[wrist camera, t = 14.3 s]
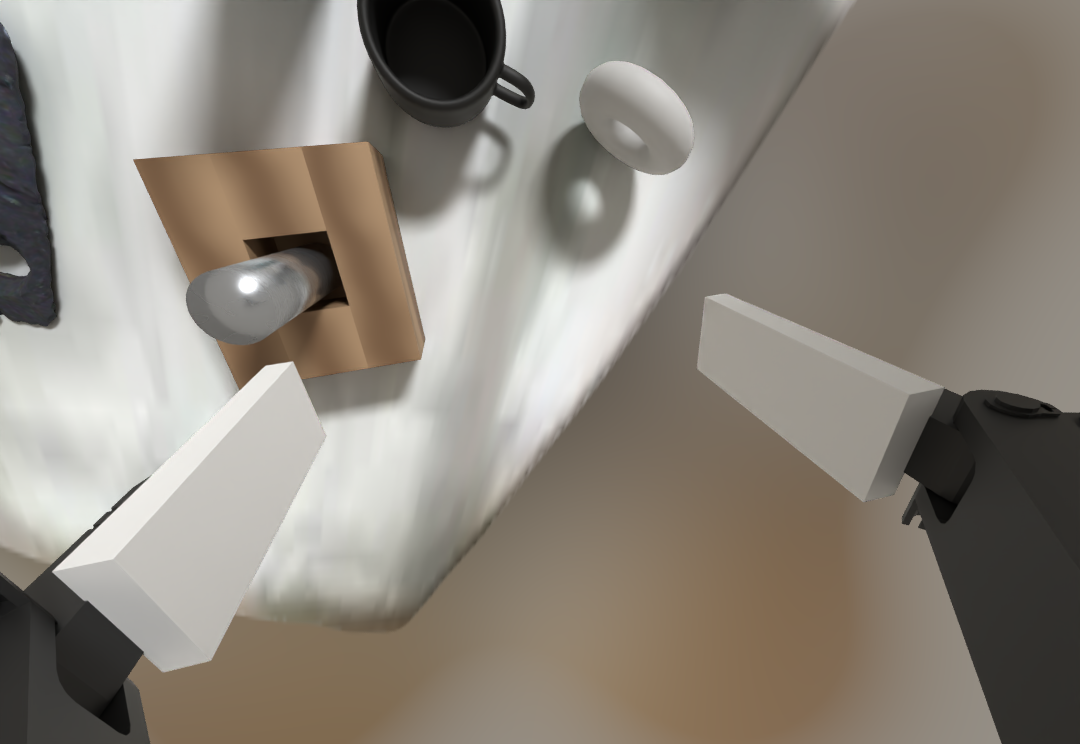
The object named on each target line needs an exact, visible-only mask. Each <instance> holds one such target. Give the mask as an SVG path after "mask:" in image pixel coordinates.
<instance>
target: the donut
mask: <svg viewBox="0 0 1080 744" xmlns="http://www.w3.org/2000/svg"><path fill="white" fill-rule="evenodd" d="M579 101H580V108H581V114H582V117H583V119H584V121H585V123H586V125H587V127H588V129H589V131H590V132H591V133H592V135H593V136H594V137H595V139H596V140H597V141H598V142H599V143H600V144H601V145H602V146H603V147H604V148H605V149H606V150H607V151H608V152H609V153H611V154H612V155H613V156H614V157H615V158H617V159H618V160H620V161H621V162H623V163H624V164H626V165H627V166H630V167H632V168H634V169H636V170H638V171H641V172H644V173H647V174H652V175H664V174H668V173H670V172H673V171H675V170H676V169H678V168H680V167H681V166H682V165H683V164H684V163H685V162H686V160H687V158H688V156H689V154H690V152H691V150H692V148H693V145H694V129H693V122H692V119H691V117H690V114H689V112H688V110H687V108H686V106H685V105H684V103H683V102H682V101H681V99H680V98H679V97H678V95H677V94H676V93H675V91H674V90H673V89H671V88H670V87H669V86H668V85H667V84H666V83H665V82H664V81H663V80H662V79H661V78H659V77H658V76H656V75H654V74H653V73H651V72H650V71H648V70H646V69H645V68H643V67H641V66H638V65H635V64H632V63H630V62H626V61H609V62H606V63H604V64H602V65H600V66H598V67H596V68H594V69H593V70H592V71H591V72H590V73H589V74H588V75H587V77H586V79H585V82H584V84H583V86H582V89H581V91H580V97H579Z"/></svg>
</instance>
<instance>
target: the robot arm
mask: <svg viewBox="0 0 1080 744" xmlns="http://www.w3.org/2000/svg"><path fill="white" fill-rule="evenodd" d="M697 369H698V370H699V371H700V372H701V373H703V374H704V375H705V376H706V377H708V378H709V379H710V380H711V381H713V382H714V383H715V384H717V385H718V386H719V387H720V388H721V389H723V390H724V391H725V392H727V393H728V394H729V395H730V396H731V397H733V398H734V399H735V400H736V401H738V402H739V403H740V404H741V405H743V406H744V407H745V408H747V409H748V410H749V411H750V412H751V413H753V414H754V415H755V416H756V417H758V418H759V419H760V420H761V421H763V422H764V423H765V424H767V425H768V426H769V427H770V428H772V429H773V430H774V431H775V432H777V433H778V434H779V435H780V436H781V437H783V438H784V439H785V440H787V441H788V442H789V443H790V444H791V445H793V446H794V447H795V448H796V449H798V450H799V451H800V452H802V453H803V454H804V455H805V456H806V457H808V458H809V459H810V460H811V461H813V462H814V463H815V464H816V465H818V466H819V467H820V468H822V469H823V470H824V471H825V472H826V473H828V474H829V475H830V476H831V477H833V478H834V479H835V480H837V481H838V482H839V483H840V484H842V485H843V486H844V487H845V488H847V489H848V490H849V491H850V492H852V493H853V494H854V495H855V496H856V497H858V498H859V499H860V500H861V501H863V502H867V501H871V500H875V499H879V498H884V497H888V496H891V495H894V494H895V492H896V490H897V488H898V485H899V484H900V481H901V479H902V477H903V475H904V473H906V474H907V475H909V476H910V477H912V478H914V479H915V480H916V481H918V482H919V485H918V486H917V488H916V491H915V492H914V495H913V496H912V498H911V500H910V502H909V504H908V506H907V508H906V510H905V512H904V514H903V516H902V524H906V525H909V524H910V522H911V520H912V518H913V517H914V516H916V515H921V518H922V521H921V523H920V524H919V526H918V528H921V529H924V530H926V532H927V535H928V538H929V540H930V543H931V546H932V549H933V552H934V554H935V557H936V560H937V563H938V566H939V568H940V571H941V574H942V577H943V580H944V582H945V585H946V588H947V591H948V594H949V596H950V599H951V602H952V605H953V608H954V610H955V614H956V616H957V619H958V622H959V625H960V627H961V630H962V633H963V636H964V639H965V642H966V645H967V647H968V650H969V653H970V656H971V659H972V661H973V664H974V667H975V670H976V672H977V675H978V678H979V681H980V684H981V687H982V690H983V692H984V695H985V698H986V701H987V704H988V706H989V709H990V712H991V715H992V718H993V721H994V723H995V726H996V729H997V732H998V735H999V737H1000V740H1001V743H1002V744H1080V413H1063V412H1061V411H1060V410H1058V409H1057V408H1055V407H1054V406H1052V405H1050V404H1048V403H1043V402H1041V401H1039V400H1036V399H1032V398H1029V397H1025V396H1022V395H1019V394H1013V393H1008V392H1003V391H993V390H976V391H970V392H968V393H967V394H965V395H963V396H961V395H958V394H956V393H954V392H951V391H949V390H947V389H944V388H945V387H943V386H941V385H938V384H936V383H934V382H931V381H929V380H927V379H924V378H922V377H920V376H917V375H915V374H912V373H910V372H908V371H905V370H903V369H901V368H898V367H896V366H894V365H892V364H889V363H887V362H885V361H882V360H880V359H878V358H875V357H873V356H871V355H868V354H865V353H864V352H861V351H859V350H856V349H854V348H852V347H850V346H847V345H845V344H843V343H840V342H838V341H836V340H833V339H831V338H829V337H826V336H824V335H822V334H819V333H817V332H815V331H812V330H810V329H808V328H805V327H803V326H800V325H798V324H796V323H794V322H791V321H789V320H787V319H785V318H782V317H780V316H778V315H775V314H773V313H770V312H768V311H766V310H764V309H761V308H759V307H757V306H754V305H752V304H749V303H747V302H745V301H743V300H740V299H738V298H735V297H733V296H731V295H729V294H726V293H725V294H717V295H712V296H706V297H705V299H704V308H703V317H702V325H701V334H700V343H699V352H698V361H697ZM325 438H326V434H325V432H324V429H323V427H322V425H321V423H320V420H319V418H318V416H317V414H316V411H315V409H314V407H313V405H312V403H311V400H310V398H309V396H308V394H307V391H306V389H305V387H304V385H303V382H302V380H301V378H300V376H299V374H298V371H297V369H296V367H295V365H294V362H286V363H280V364H274V365H267V366H265V367H264V368H263V369H262V370H260V371H259V372H258V373H257V374H256V375H255V376H254V377H253V378H252V379H251V380H250V381H249V382H248V383H247V384H246V385H245V386H244V387H243V388H242V389H241V390H240V391H239V392H238V393H237V394H236V395H235V396H234V397H233V398H231V399H230V400H229V401H228V402H227V403H226V404H225V405H224V406H223V407H222V408H221V409H220V410H219V411H218V412H217V413H216V414H215V415H214V416H213V417H212V418H211V419H210V420H209V421H208V422H207V423H206V424H205V425H203V426H202V427H201V428H200V429H199V430H198V431H197V432H196V433H195V434H194V435H193V436H192V437H191V438H190V439H189V440H188V441H187V442H186V443H185V444H184V445H183V446H182V447H181V448H180V449H179V450H178V451H177V452H176V453H174V454H173V455H172V456H171V457H170V458H169V459H168V460H167V461H166V462H165V463H164V464H163V465H162V466H161V467H160V468H159V469H158V470H157V471H156V472H155V473H154V474H153V475H151V476H150V477H148V478H147V479H145V480H144V481H142V482H141V483H139V484H138V485H136V486H135V487H133V488H132V489H131V490H130V491H129V492H128V493H127V494H126V495H125V496H123V497H122V498H121V499H120V500H119V501H118V502H117V503H116V504H115V505H114V506H113V507H112V508H111V509H112V511H110V512H107V513H106V514H104V515H103V516H102V517H101V518H100V519H99V520H98V521H97V522H96V523H95V524H94V525H93V526H94V528H93V529H90V530H88V531H87V532H85V533H84V534H83V535H82V536H81V537H80V538H79V539H78V540H77V541H76V542H75V543H74V544H73V545H72V546H71V547H70V548H69V549H67V550H66V551H65V552H64V553H63V554H62V555H61V556H60V557H59V558H58V559H57V560H56V561H55V562H54V563H53V564H52V565H51V566H50V567H48V568H47V569H46V570H45V571H44V572H43V573H42V574H41V575H40V576H39V577H38V578H37V579H36V580H35V581H34V582H33V583H32V584H31V585H29V586H28V587H27V588H26V589H25V590H24V591H22V590H21V589H20V588H19V587H18V586H16V585H15V584H14V583H13V582H12V581H10V580H9V579H8V578H7V577H6V576H4V575H3V574H2V573H1V572H0V744H150V741H149V736H148V731H147V726H146V722H145V717H144V712H143V707H142V703H141V698H140V692H139V689H138V688H137V687H136V686H135V684H134V683H133V682H132V681H131V680H129V678H127V677H128V675H129V674H130V672H131V670H132V669H133V668H134V666H135V665H136V663H137V662H138V660H139V659H140V657H141V656H142V654H143V655H144V656H145V657H147V658H148V659H149V660H150V661H151V662H152V663H153V664H154V665H155V666H157V667H158V668H159V669H160V670H161V671H162V672H167V671H171V670H175V669H179V668H183V667H187V666H191V665H195V664H199V663H203V662H208V661H211V659H212V657H213V656H214V654H215V652H216V650H217V648H218V646H219V644H220V642H221V640H222V638H223V636H224V634H225V632H226V630H227V628H228V626H229V624H230V623H231V621H232V618H233V617H234V615H235V613H236V611H237V609H238V607H239V605H240V603H241V601H242V599H243V597H244V595H245V593H246V592H247V590H248V588H249V586H250V584H251V582H252V580H253V578H254V576H255V574H256V572H257V570H258V568H259V566H260V564H261V562H262V560H263V559H264V557H265V555H266V553H267V551H268V549H269V547H270V545H271V543H272V541H273V539H274V537H275V535H276V533H277V531H278V529H279V527H280V526H281V524H282V522H283V520H284V518H285V516H286V514H287V512H288V510H289V508H290V506H291V504H292V502H293V500H294V498H295V496H296V495H297V493H298V491H299V489H300V487H301V485H302V483H303V481H304V479H305V477H306V475H307V473H308V471H309V469H310V467H311V465H312V463H313V462H314V460H315V458H316V456H317V454H318V452H319V450H320V448H321V446H322V444H323V442H324V440H325Z"/></svg>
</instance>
